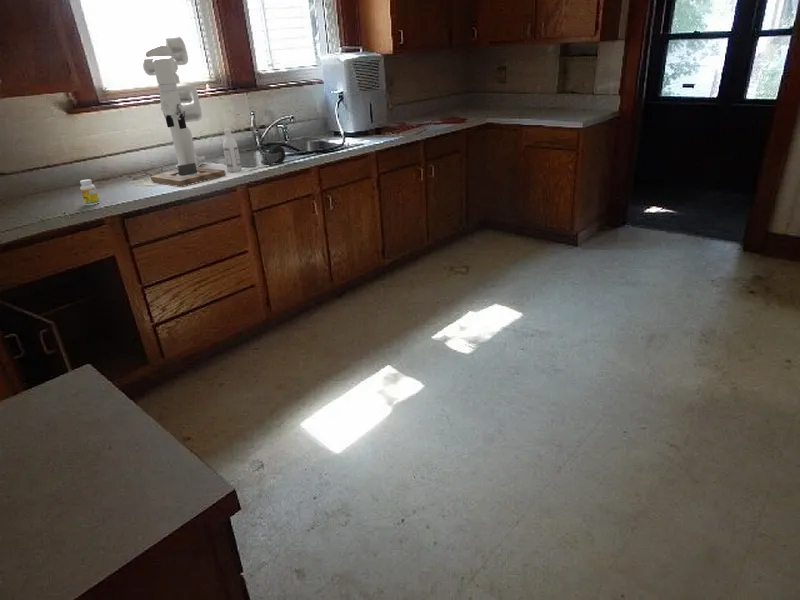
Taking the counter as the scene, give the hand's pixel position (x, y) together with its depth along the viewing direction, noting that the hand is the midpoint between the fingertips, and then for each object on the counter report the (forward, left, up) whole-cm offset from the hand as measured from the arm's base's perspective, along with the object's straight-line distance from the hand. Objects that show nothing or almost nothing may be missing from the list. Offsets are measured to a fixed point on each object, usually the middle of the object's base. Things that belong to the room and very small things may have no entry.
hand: (177, 127), depth 245 cm
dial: (+2, +4, -23) cm, 23 cm away
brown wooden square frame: (+2, +4, -23) cm, 23 cm away
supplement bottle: (+49, +8, -23) cm, 55 cm away
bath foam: (-19, +11, -23) cm, 32 cm away
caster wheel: (-38, +18, -23) cm, 48 cm away
